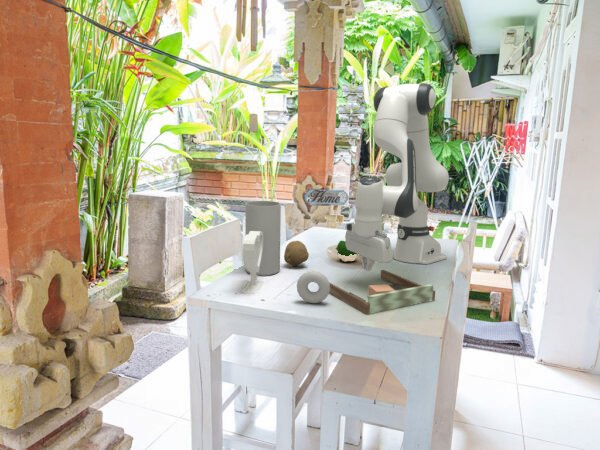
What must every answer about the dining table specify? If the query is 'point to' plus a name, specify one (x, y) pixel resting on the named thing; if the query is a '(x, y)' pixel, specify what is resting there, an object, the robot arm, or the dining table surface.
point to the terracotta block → (379, 289)
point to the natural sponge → (295, 253)
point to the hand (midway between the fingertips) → (367, 269)
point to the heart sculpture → (253, 259)
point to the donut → (317, 278)
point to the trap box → (387, 295)
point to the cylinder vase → (266, 232)
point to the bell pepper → (344, 249)
